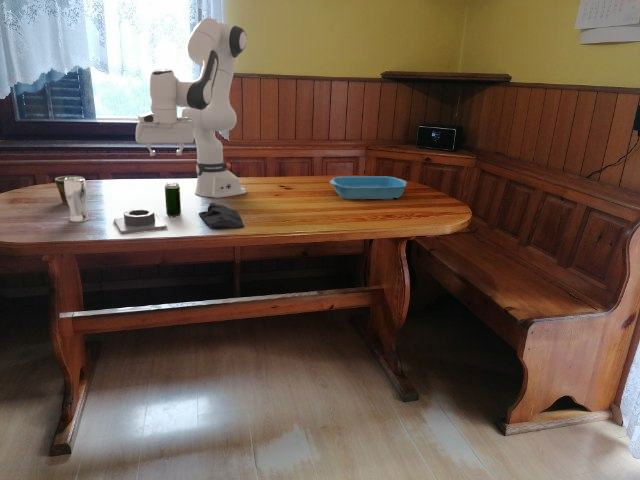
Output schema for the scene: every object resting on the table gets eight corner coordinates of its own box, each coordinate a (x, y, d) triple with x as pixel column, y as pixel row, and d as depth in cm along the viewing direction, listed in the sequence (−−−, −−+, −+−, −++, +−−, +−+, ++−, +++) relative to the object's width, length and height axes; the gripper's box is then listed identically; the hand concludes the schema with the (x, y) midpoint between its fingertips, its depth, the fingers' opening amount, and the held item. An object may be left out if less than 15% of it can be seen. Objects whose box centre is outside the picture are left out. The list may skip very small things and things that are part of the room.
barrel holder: (156, 217, 181) (155, 205, 180) (167, 228, 169) (166, 216, 168) (114, 221, 174) (112, 209, 172) (121, 234, 162) (120, 221, 160)
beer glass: (73, 216, 178) (67, 176, 173) (93, 217, 178) (88, 176, 173) (65, 222, 171) (59, 180, 166) (86, 222, 172) (80, 181, 167)
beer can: (169, 217, 182) (167, 186, 177) (164, 214, 186) (162, 183, 182) (183, 216, 184) (181, 185, 180) (178, 212, 189) (176, 182, 185)
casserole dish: (335, 202, 214) (336, 186, 211) (324, 190, 234) (325, 175, 232) (413, 201, 221) (415, 186, 219) (396, 189, 242) (397, 175, 239)
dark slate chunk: (203, 232, 169) (203, 219, 168) (198, 214, 189) (197, 202, 187) (247, 229, 174) (247, 216, 173) (237, 212, 194) (237, 200, 192)
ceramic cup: (91, 201, 197) (88, 177, 194) (70, 207, 188) (66, 182, 185) (69, 197, 202) (65, 173, 199) (47, 202, 193) (43, 177, 190)
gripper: (191, 116, 181) (192, 153, 185) (133, 115, 172) (135, 154, 176) (195, 118, 175) (196, 156, 180) (135, 117, 166) (138, 157, 171)
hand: (166, 155), depth 178 cm, fingers open, 8 cm apart
